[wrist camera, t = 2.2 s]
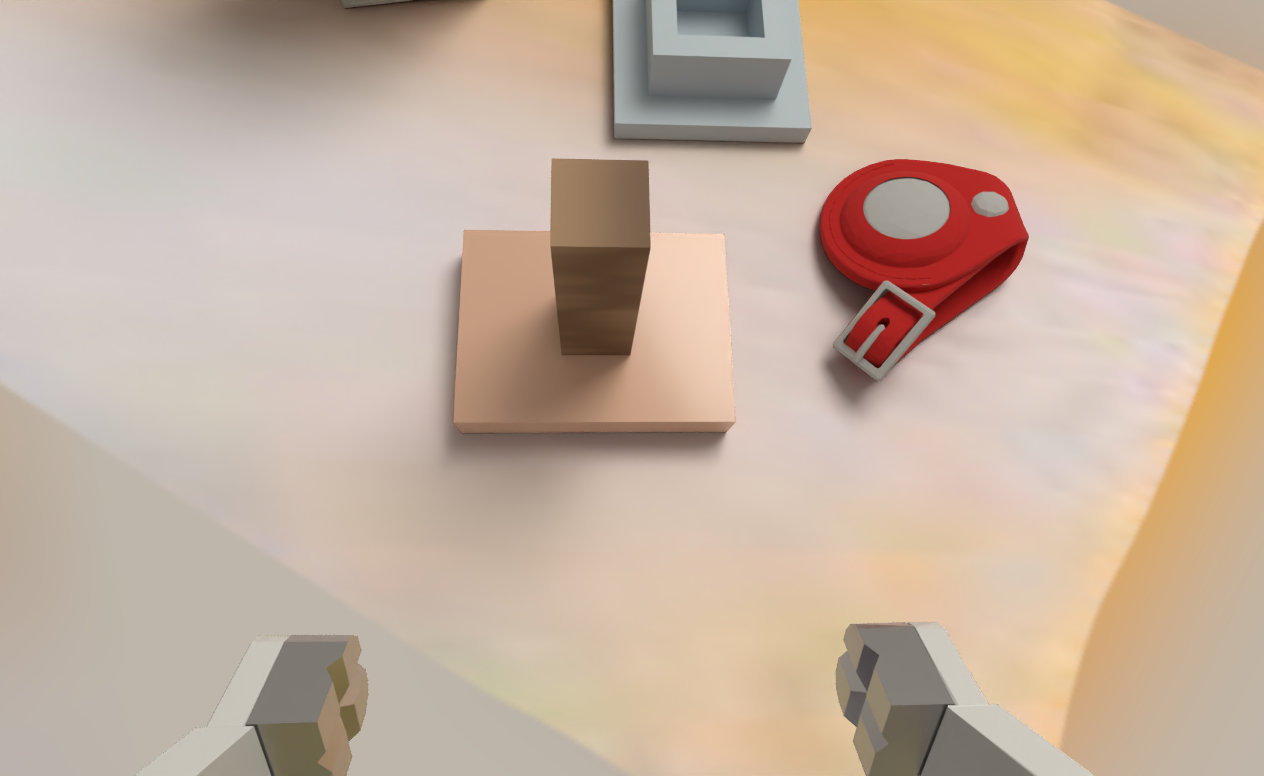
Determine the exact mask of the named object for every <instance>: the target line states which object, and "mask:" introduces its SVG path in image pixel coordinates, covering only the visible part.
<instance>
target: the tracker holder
mask: <svg viewBox="0 0 1264 776" xmlns="http://www.w3.org/2000/svg"><path fill="white" fill-rule="evenodd" d="M820 234H821V241H822V245H823V248H824V250H825V253H826V255H827V256H828V258H829V259H830V261H831V262H832V264H833V265H834V266H835V267H836V268H837V269H838V270H839V271H840V272H841V273H842V274H844V275H845V276H846V277H847V278H849V279H850V280H852V281H854V282H855V283H857V284H859V285H861V286H864V287H866V288H869V289H872V290H875V292H874V294H873V295H872V296H871V297H870V299H869V300H868V301H867V302H866V304H865V305H864V306H863V307H862V309H861V310H860V311H859V312H858V314H857V315H856V316H855V317H854V319H853V320H852V321H851V322H850V324H849V325H848V326H847V327H846V329H845V330H844V331H843V332H842V334H841V335H840V336H839V337H838V339H837V340H836V341H835V342H834V344H833V346H834V348H835V349H836V350H837V351H839V352H840V353H841V354H843V355H844V356H845V357H846V358H848V359H849V360H850V361H852V362H853V363H854V364H855V365H857V366H858V367H859V368H861V369H862V370H863V371H864V372H866V373H867V374H868V375H870V376H871V377H872V378H873V379H875V380H876V381H881V380H882V379H883V378H884V376H885V375H886V374H887V373H888V372H889V371H890V369H891V368H892V367H893V366H894V365H895V364H896V363H897V362H898V361H899V360H901V359H902V358H903V357H904V356H905V355H906V354H907V353H909V352H910V351H911V350H912V349H913V348H914V347H915V346H916V345H918V344H919V343H920V342H921V341H922V340H924V339H925V338H927V337H928V336H929V335H931V334H932V333H934V332H935V331H936V330H938V329H939V328H941V327H942V326H943V325H945V324H946V323H948V322H949V321H951V320H952V319H953V318H955V317H956V316H958V315H959V314H960V313H962V312H963V311H965V310H966V309H967V308H969V307H970V306H972V305H973V304H975V303H976V302H977V301H979V300H980V299H982V298H983V297H984V296H986V295H987V294H989V293H990V292H991V291H993V290H994V289H995V288H997V287H998V286H999V285H1001V284H1002V283H1003V282H1004V281H1005V280H1006V279H1007V278H1008V277H1009V276H1010V275H1011V274H1012V273H1013V272H1014V270H1015V269H1016V268H1017V266H1018V265H1019V263H1020V261H1021V259H1022V257H1023V255H1024V251H1025V248H1026V245H1027V241H1028V238H1029V236H1028V233H1027V231H1026V229H1025V227H1024V224H1023V222H1022V219H1021V217H1020V214H1019V211H1018V209H1017V206H1016V204H1015V201H1014V198H1013V196H1012V193H1011V191H1010V189H1009V188H1008V187H1007V185H1006V184H1005V183H1004V182H1002V181H1001V180H1000V179H999V178H997V177H996V176H993V175H991V174H989V173H986V172H982V171H978V170H973V169H969V168H964V167H959V166H955V165H950V164H944V163H937V162H929V161H920V160H908V159H895V160H886V161H882V162H878V163H875V164H871V165H869V166H866V167H864V168H862V169H859V170H857V171H856V172H854V173H852V174H851V175H849V176H848V177H846V178H845V179H843V180H842V181H841V182H840V183H839V184H838V185H837V186H836V187H835V188H834V189H833V191H832V192H831V193H830V194H829V196H828V198H827V200H826V202H825V204H824V206H823V209H822V213H821V219H820Z"/></svg>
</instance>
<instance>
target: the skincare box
mask: <svg viewBox="0 0 1264 776" xmlns="http://www.w3.org/2000/svg"><path fill="white" fill-rule="evenodd" d="M403 1H411V0H341V2H342V5H343V7H345V8H350V7H358V6H368V5H377V4H385V3H394V2H403Z"/></svg>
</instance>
